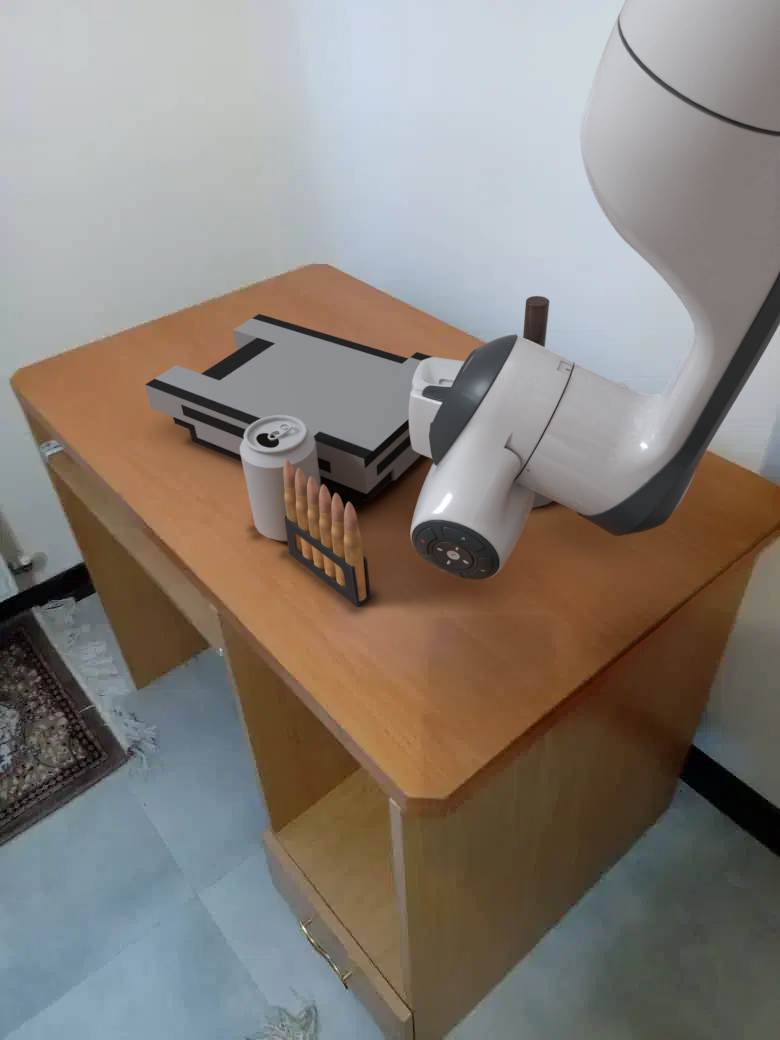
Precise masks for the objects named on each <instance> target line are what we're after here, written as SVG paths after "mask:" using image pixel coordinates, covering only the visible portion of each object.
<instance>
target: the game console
mask: <svg viewBox="0 0 780 1040" xmlns="http://www.w3.org/2000/svg"><path fill="white" fill-rule="evenodd" d="M232 332H233V337H234V342H235V346H236V351H234V352H232V353H231V354H229V355H228V356H227V357H225V358H223V359H222V360H220V361H218V362H217V363H215V364H214V365H212V366H211V367H209V368H208V369H206V370H204V371H203V372H201V373H200V372H197V371H194V370H191V369H189V368H186V367H183V366H180V365H178V364H176V365H174V366H172V367H171V368H169V369H168V370H166V371H164V372H163V373H161V374H159V375H158V376H155V378H153V379H151V380H150V381H148V382H146V383H144V386H145V390H146V393H147V394H146V395H147V397H148V401H149V404H150V408H151V409H153V410H155V411H158V412H160V413H163V414H165V415H168V416H170V417H173V418H172V419H173V422H174V424H175V425H178V426H181V427H182V428H184V429H188V431H189V434H190V438H191V441H192V442H193V443H195V444H198V445H200V446H203V447H206V448H207V449H210V450H213V451H215V452H218V453H220V454H221V455H225V456H226V457H229V458H232V459H234V460H237V461H239V462H242V459H241V454H240V445H241V443H242V441H243V439H244V433H245V430H246V429H247V428H248V427H249V426H250V425H251V424H252V423H254V422H255V421H257V420H259V419H262V418H265V417H268V416H274V415H287V416H292V417H295V418H297V419H299V420H301V421H303V423H304V424H305V425H306V427H307V430H309V431H310V432H311V433H312V434H313V436H314V439H315V443H316V451H317V459H318V467H319V475H320V483H321V486H322V485H323V484H324V485H325V486H326V487H327V489H328V491H329V493H330V496H331V500H332V499H333V496H334V494H335V493H337V494H338V495H339V497H340V498H341V501H342V503H343V505H345V506H346V505H347V503H348V502H350V503H351V504H352V505H353V507H354V509H358V508H359V507H360V506H361V505H362V504H363V503H364V502H365V501H366V502H369V503H371V501H372V500H373V499H374V498H375V497H376V496H377V495H379V493H380V492H381V491H382V490H384V488H386V487H387V486H388V484H390V483H391V482H392V481H396V480H398V478H399V477H400V476H401V475H403V474H404V472H405V471H407V470H408V468H409V467H410V466H412V465H413V464H414V462H415V461H417V460H418V458H420V457H421V456H422V455H421V454H419V453H417V452H415V451H414V450H413V449H412V445H411V440H410V432H409V400H410V393H411V391H412V379H413V376H414V373H415V371H416V368H417V367H418V365H419V363H420V362H421V361H422V360H425V359H427V358H431V357H433V356H431V355H428V354H425V353H422V352H418V351H416V352H415V353H413V354H412V355H411V356H410V357H409V358H408V357H405V356H402V355H399V354H396V353H392V352H388V351H385V350H381V349H378V348H375V347H372V346H369V345H365V344H362V343H359V342H355V341H352V340H349V339H345V338H342V337H338V336H336V335H335V336H334V335H332V334H328V333H325V332H321V331H318V330H314V329H311V328H308V327H305V326H301V325H299V324H294V323H291V322H288V321H284V320H281V319H278V318H274V317H271V316H267V315H264V314H261V313H258V314H256V315H254V316H253V317H251V318H250V319H248V320H247V321H245V322H243V323H242V324H240V325H239V326H237V327H235V328H234V329H232Z"/></svg>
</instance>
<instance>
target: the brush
mask: <svg viewBox="0 0 780 1040" xmlns="http://www.w3.org/2000/svg"><path fill="white" fill-rule="evenodd" d="M549 310H550V299H548V298H547V297H545V296H541V295H533V296H529V297H527V298H526V299H525V307H524V321H523V331H522V332H523V334H522V338H525V339H528V340H530V341H532V342H534V343H537V344H539V345H541V346H543V347H545V348H546V343H547V341H546V340H547V331H548V321H549Z"/></svg>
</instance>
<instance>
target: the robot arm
mask: <svg viewBox="0 0 780 1040" xmlns="http://www.w3.org/2000/svg"><path fill="white" fill-rule="evenodd" d="M579 138H580V139H579V140H580V151H581V159H582V162H583V169H584V172H585V175H586V179H587V180H588V183H589V186H590V189H591V192H592V194H593V197H594V198H595V200H596V202H597V204H598V206H599V207H600V210H601V211H602V213H603V214H604V216H605V217H606V219H607V221H608V222H609V224H610V225H611V226H612V228H613V229H614V230H615V232H616V233H617V234H618V235H619V236H620V238H621V239H622V240H623V241H624V242H625V243H626V244H627V245H628V246H629V247H630V248H631V249H633V250H634V251H635V252H636V253H637V254H638V255H639V256H640V258H642V259H643V260H644V261H645V262H646V263H647V264H648V265H649V266H650V267H651V268H652V269H653V270H654V271H655V272H656V273H657V274H658V276H660V277H661V279H663V281H664V282H665V283H666V284H667V286H668V287H669V288H670V289H671V290H672V291H673V293H674V294H675V295H676V297H677V298H678V299H679V300H680V302H681V304H682V305H683V307H684V308H685V309H686V312H687V313H688V315H689V317H690V319H691V321H692V323H693V330H692V332H691V334H690V335H689V338H688V340H687V343H686V344H685V346H684V348H683V351H682V352H681V354H680V356H679V358H678V361H677V363H676V365H675V367H674V368H673V371H672V373H671V375H670V376H669V379H668V382H667V383H666V385H665V388H664V390H663V391H662V392H661V393H646V392H642V391H641V392H640V391H636V390H634V389H632V388H630V387H629V386H628V385H626V384H625V383H624V382H621V381H614V380H613V379H610V378H608V377H606V376H604V375H602V374H600V373H598V372H595V371H593V370H591V369H589V368H587V367H585V366H583V365H581V364H579V363H576V362H575V361H574V360H572V359H571V358H569V357H566V356H564V355H562V354H560V353H557V352H555V351H553V350H551V349H550V348H547V347H546V346H545V347H543V346H541V345H539V344H537V343H534V342H532V341H530V340H528V339H525V338H523V336H520V335H518V334H517V333H515V334H509V335H504V336H501V337H498V338H495V339H493V340H491V341H489V342H486V343H485V344H482V345H480V346H479V347H476V348H474V349H473V350H472V351H471V352H470V353H469V354H468V356H467V357H466V359H465V360H458V359H451V358H445V357H444V358H443V357H436V356H432V357H431V358H427V359H425V360H422V361H421V362H420V363H419V365H418V367H417V368H416V371H415V373H414V376H413V379H412V391H411V393H410V400H409V432H410V440H411V445H412V449H413V450H414V451H415V452H417V453H419V454H421V455H420V456H424V457H426V458H429V459H431V460H432V462H433V463H432V464H431V466H430V467H429V468H430V469H429V471H428V473H427V474H426V477H425V479H424V481H423V485H422V487H421V490H420V492H419V495H418V498H417V500H416V504H415V508H414V512H413V515H412V520H411V525H410V532H409V535H410V536H409V537H410V541H411V544H412V546H413V548H414V550H415V551H416V553H417V555H419V557H421V559H423V560H424V561H425V562H427V563H428V564H429V565H431V566H433V567H434V568H436V569H438V570H440V571H441V572H444V573H446V574H448V575H451V576H453V577H456V578H457V579H462V580H468V581H482V580H487V579H491V578H493V577H494V576H496V575H497V574H499V572H501V570H502V569H503V568H504V566H505V565H506V563H507V562H508V560H509V558H510V557H511V555H512V553H513V551H514V550H515V547H516V546H517V544H518V542H519V540H520V538H521V536H522V534H523V531H524V529H525V527H526V524H527V522H528V520H529V517H530V514H531V512H532V509H533V508H532V506H533V503H534V498H535V492H537V493H539V494H541V495H543V496H545V497H547V498H549V499H551V500H553V501H552V502H556V503H557V504H559V505H562V506H563V507H565V508H568V509H570V510H572V511H574V512H575V513H576V514H577V515H578V516H580V517H582V518H583V519H585V520H587V521H588V522H589V523H592V524H594V525H595V526H597V527H598V528H600V529H602V530H603V531H605V532H607V533H609V534H610V535H612V536H614V537H622V536H627V535H634V534H638V533H642V532H645V531H650V530H652V529H654V528H657V527H659V526H662V525H664V524H665V523H666V522H667V521H668V519H669V518H670V517H671V516H672V515H673V513H675V511H676V510H677V509H678V507H679V506H680V504H681V503H682V501H684V499H685V497H686V495H687V493H688V492H689V489H690V487H691V484H692V482H693V480H694V477H695V474H696V471H697V468H698V466H699V464H700V462H701V460H702V459H703V456H704V454H705V453H706V451H707V449H708V448H709V445H710V444H711V442H712V441H713V439H714V437H715V435H716V434H717V433H718V430H719V429H720V427H721V426H722V424H723V422H724V420H725V419H726V417H727V416H728V414H729V413H730V411H731V409H732V408H733V406H734V404H735V402H736V401H737V399H738V398H739V396H740V394H741V392H742V390H743V389H744V387H745V386H746V384H747V382H748V380H750V377H751V376H752V374H753V372H754V370H755V369H756V367H757V365H758V364H759V362H760V360H761V358H762V357H763V355H764V353H765V351H766V350H767V348H768V346H769V344H770V342H771V341H772V339H773V337H774V335H775V334H776V332H777V330H778V329H779V326H780V0H624V2H623V4H622V7H621V9H620V11H619V13H618V15H617V17H616V20H615V22H614V24H613V26H612V30H611V31H610V34H609V36H608V39H607V41H606V44H605V46H604V48H603V51H602V53H601V56H600V59H599V61H598V64H597V67H596V70H595V72H594V75H593V78H592V81H591V84H590V88H589V91H588V94H587V96H586V100H585V103H584V107H583V110H582V114H581V119H580V125H579Z"/></svg>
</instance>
